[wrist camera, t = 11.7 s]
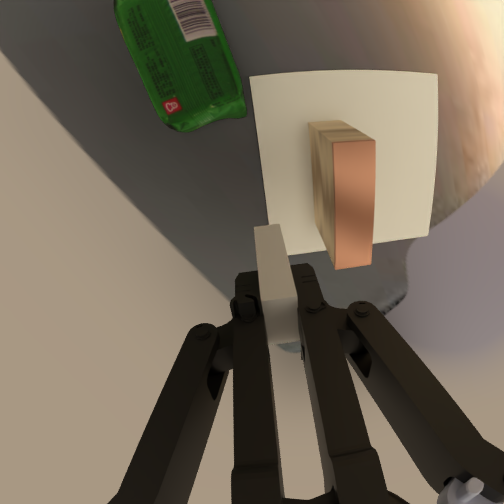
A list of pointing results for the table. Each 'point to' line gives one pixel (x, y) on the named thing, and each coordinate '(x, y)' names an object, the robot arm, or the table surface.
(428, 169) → the cream board
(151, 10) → the snack package
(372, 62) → the table surface
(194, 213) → the table surface
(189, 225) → the table surface
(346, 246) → the oak slab
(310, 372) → the robot arm
